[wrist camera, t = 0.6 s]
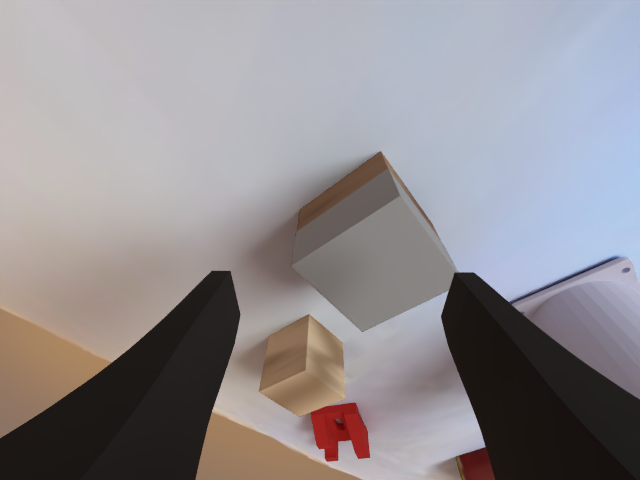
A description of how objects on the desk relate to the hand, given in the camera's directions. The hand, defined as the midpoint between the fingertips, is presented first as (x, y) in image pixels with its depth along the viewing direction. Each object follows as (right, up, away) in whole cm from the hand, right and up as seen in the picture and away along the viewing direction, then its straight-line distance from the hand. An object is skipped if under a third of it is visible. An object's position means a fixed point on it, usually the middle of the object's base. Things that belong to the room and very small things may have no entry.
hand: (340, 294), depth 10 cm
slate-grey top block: (+2, +2, +7) cm, 8 cm away
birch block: (-2, -7, +17) cm, 18 cm away
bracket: (+2, -18, +25) cm, 31 cm away
